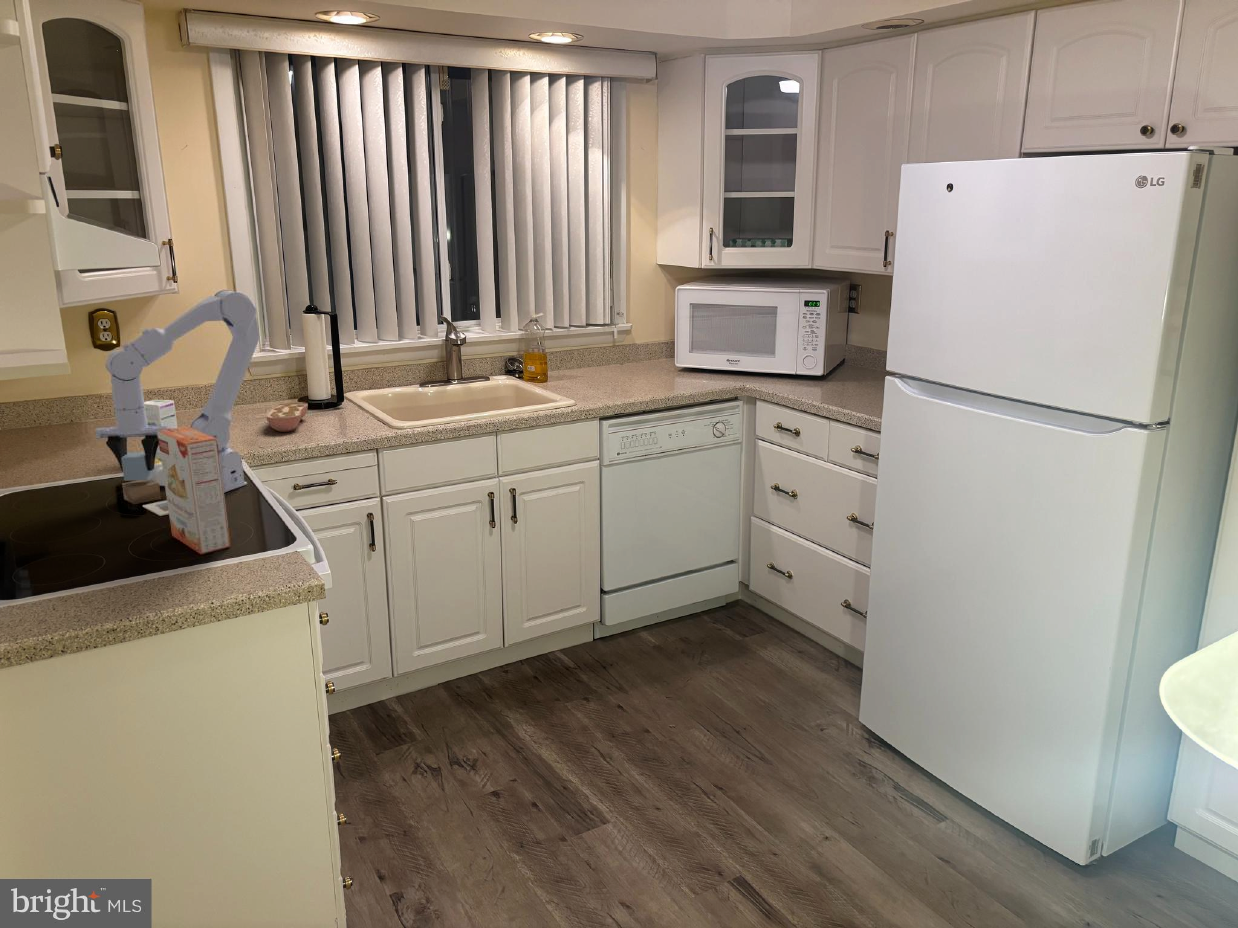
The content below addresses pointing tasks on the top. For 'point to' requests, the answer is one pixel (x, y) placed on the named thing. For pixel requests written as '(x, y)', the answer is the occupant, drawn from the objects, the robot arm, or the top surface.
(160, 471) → the supplement bottle
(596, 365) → the top surface
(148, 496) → the walnut base
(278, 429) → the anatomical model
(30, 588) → the top surface
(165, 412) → the syrup box
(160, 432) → the cracker box
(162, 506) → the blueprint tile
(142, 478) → the light blue block
